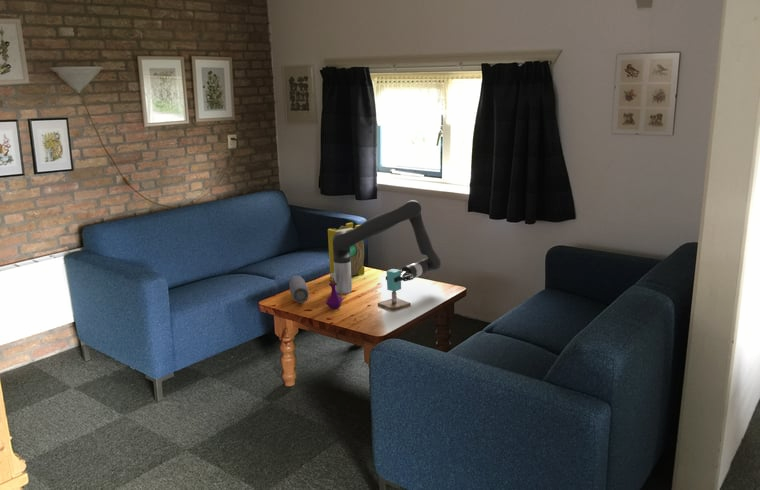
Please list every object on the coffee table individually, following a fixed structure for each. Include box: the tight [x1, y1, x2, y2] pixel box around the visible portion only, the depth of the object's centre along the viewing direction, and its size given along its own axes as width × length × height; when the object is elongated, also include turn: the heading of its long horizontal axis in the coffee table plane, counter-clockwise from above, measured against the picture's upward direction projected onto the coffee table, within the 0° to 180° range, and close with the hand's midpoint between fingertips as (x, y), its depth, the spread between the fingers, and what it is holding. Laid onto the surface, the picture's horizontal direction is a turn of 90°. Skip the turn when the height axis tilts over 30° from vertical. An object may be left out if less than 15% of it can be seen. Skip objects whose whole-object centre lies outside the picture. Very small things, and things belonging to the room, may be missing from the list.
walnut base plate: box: [377, 291, 412, 312], centre depth 334 cm, size 12×12×8 cm
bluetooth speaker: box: [288, 275, 310, 304], centre depth 350 cm, size 23×9×10 cm, turn 12°
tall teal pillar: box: [386, 268, 402, 292], centre depth 332 cm, size 5×5×10 cm
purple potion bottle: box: [325, 273, 344, 310], centre depth 334 cm, size 8×8×18 cm
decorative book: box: [327, 222, 365, 278], centre depth 386 cm, size 20×11×30 cm, turn 131°
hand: (390, 279), depth 330 cm, fingers closed on tall teal pillar, 5 cm apart
